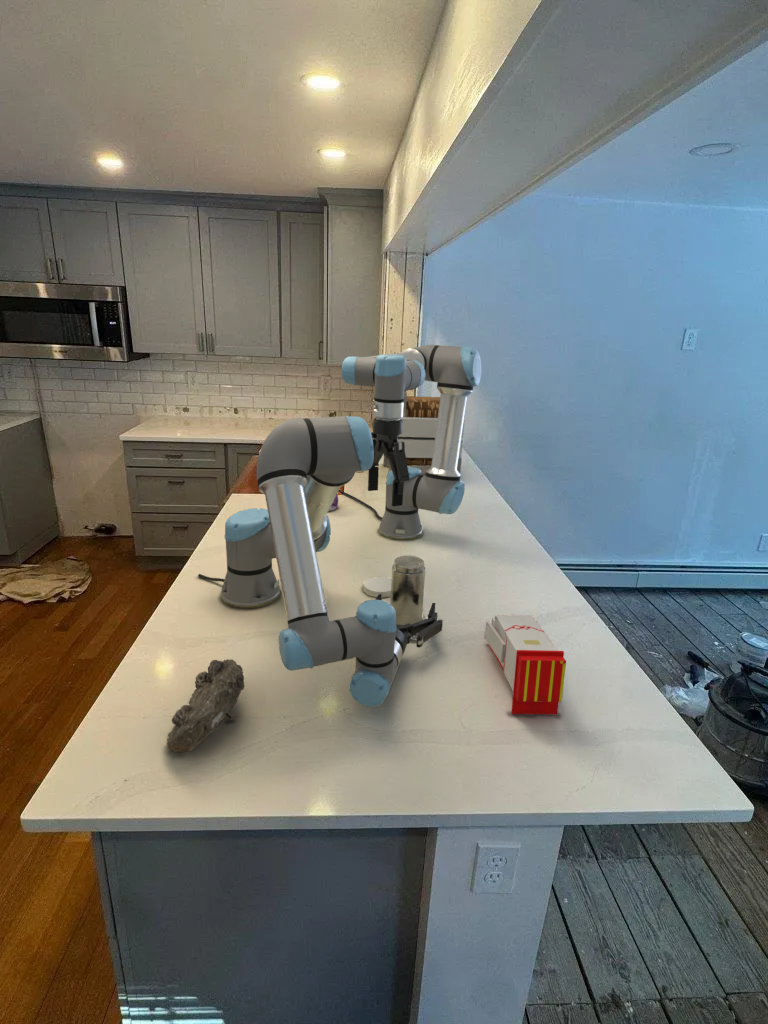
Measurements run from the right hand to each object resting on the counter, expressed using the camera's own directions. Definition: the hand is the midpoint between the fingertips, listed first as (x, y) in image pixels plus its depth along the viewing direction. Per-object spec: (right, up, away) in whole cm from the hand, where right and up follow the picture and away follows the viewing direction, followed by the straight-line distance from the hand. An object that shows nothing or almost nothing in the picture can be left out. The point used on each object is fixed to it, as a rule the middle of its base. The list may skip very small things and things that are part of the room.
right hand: (384, 497), depth 151 cm
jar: (+5, -32, -7) cm, 33 cm away
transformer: (+17, +15, +124) cm, 126 cm away
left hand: (+5, -26, -10) cm, 29 cm away
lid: (-1, -24, +9) cm, 26 cm away
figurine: (-22, -2, +71) cm, 74 cm away
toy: (+29, -40, -25) cm, 55 cm away
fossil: (-33, -43, -43) cm, 69 cm away
